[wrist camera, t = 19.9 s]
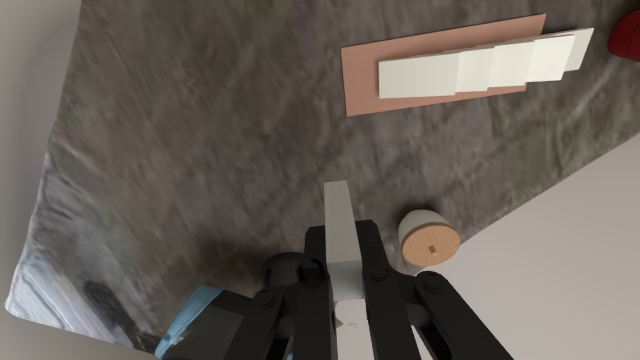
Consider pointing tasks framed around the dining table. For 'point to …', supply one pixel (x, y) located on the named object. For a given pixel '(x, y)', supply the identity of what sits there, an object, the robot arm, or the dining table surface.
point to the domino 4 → (547, 57)
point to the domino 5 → (577, 48)
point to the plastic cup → (627, 37)
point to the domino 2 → (473, 69)
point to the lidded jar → (427, 238)
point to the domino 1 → (419, 76)
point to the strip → (365, 58)
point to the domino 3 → (509, 63)
